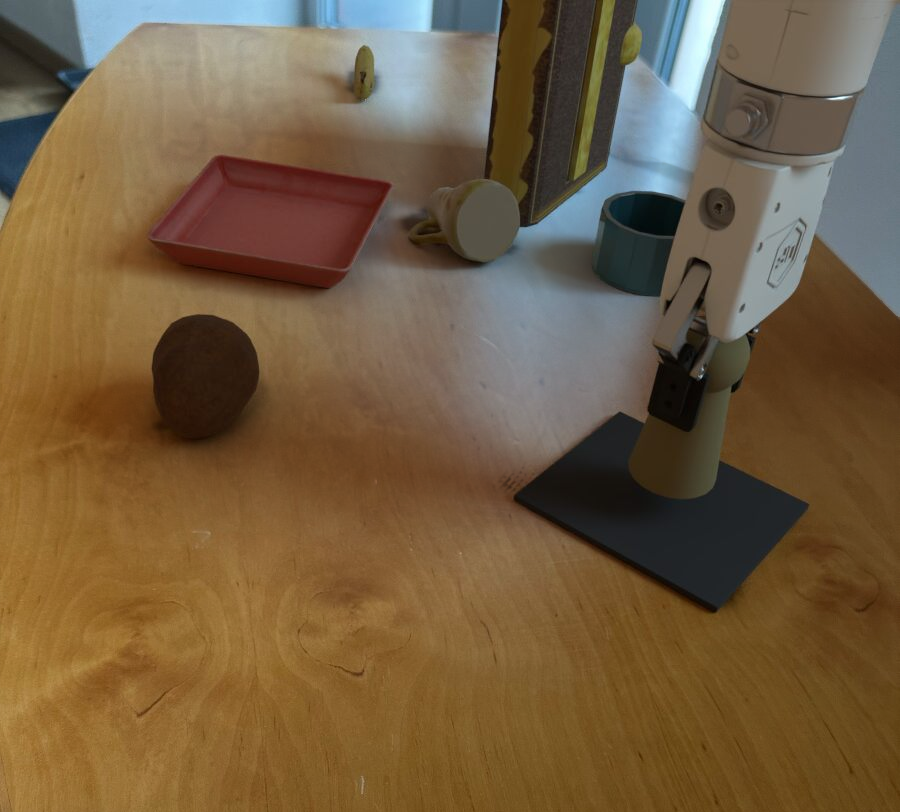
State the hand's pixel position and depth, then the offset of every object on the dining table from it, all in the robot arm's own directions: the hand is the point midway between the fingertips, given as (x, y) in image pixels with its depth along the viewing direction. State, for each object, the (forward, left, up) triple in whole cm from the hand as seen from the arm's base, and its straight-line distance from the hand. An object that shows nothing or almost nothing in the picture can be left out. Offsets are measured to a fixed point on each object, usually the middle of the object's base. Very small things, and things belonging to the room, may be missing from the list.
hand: (693, 399), depth 66 cm
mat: (0, 0, -9) cm, 9 cm away
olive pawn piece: (0, 0, -6) cm, 6 cm away
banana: (+66, -42, -9) cm, 79 cm away
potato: (+30, +15, -9) cm, 35 cm away
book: (+36, -38, -9) cm, 53 cm away
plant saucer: (+46, -8, -9) cm, 48 cm away
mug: (+34, -20, -9) cm, 40 cm away
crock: (+19, -29, -9) cm, 36 cm away
